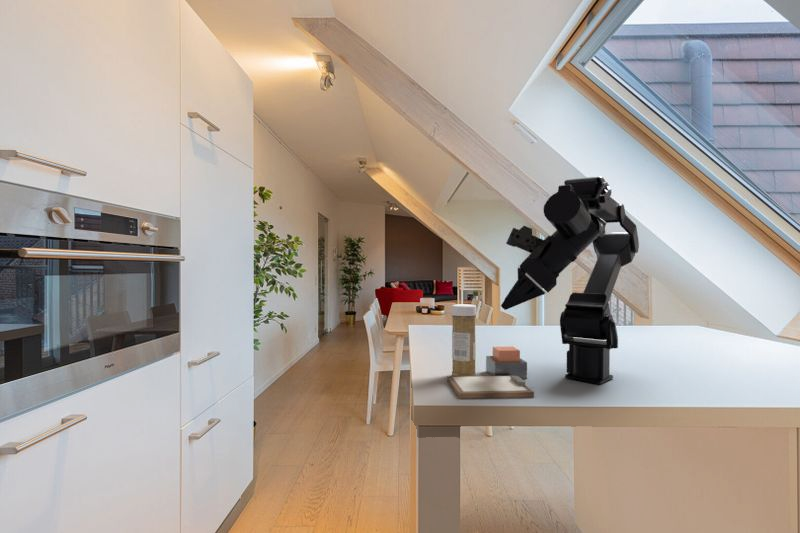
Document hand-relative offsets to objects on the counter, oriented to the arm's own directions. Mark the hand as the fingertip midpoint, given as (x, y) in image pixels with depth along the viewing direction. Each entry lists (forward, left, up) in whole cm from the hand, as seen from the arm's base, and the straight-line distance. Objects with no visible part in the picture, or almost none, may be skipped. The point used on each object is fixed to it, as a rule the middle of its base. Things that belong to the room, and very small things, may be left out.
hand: (504, 304), depth 82 cm
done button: (+1, -3, -12) cm, 12 cm away
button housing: (+1, -3, -14) cm, 14 cm away
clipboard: (-2, +7, -14) cm, 16 cm away
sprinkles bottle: (+6, +4, -14) cm, 16 cm away
